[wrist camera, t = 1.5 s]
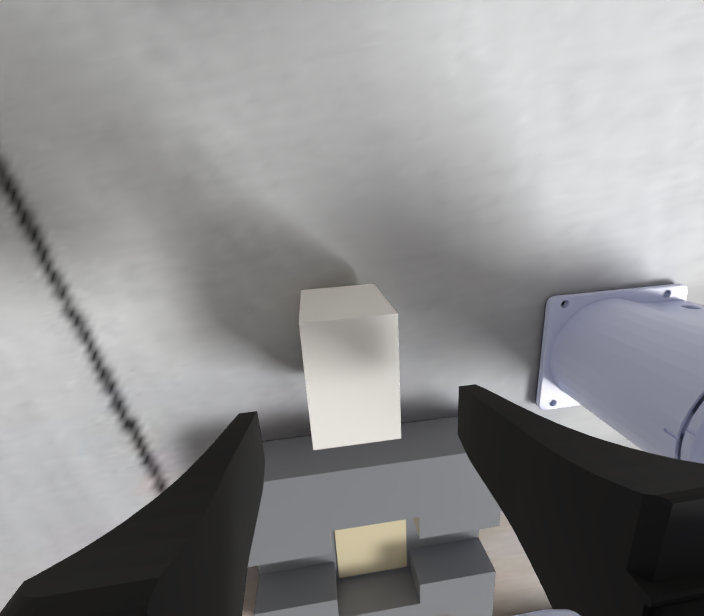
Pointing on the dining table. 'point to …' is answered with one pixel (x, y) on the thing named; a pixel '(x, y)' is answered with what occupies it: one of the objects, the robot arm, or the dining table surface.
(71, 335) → the dining table surface
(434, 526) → the socket board
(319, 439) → the plug
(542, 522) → the robot arm
